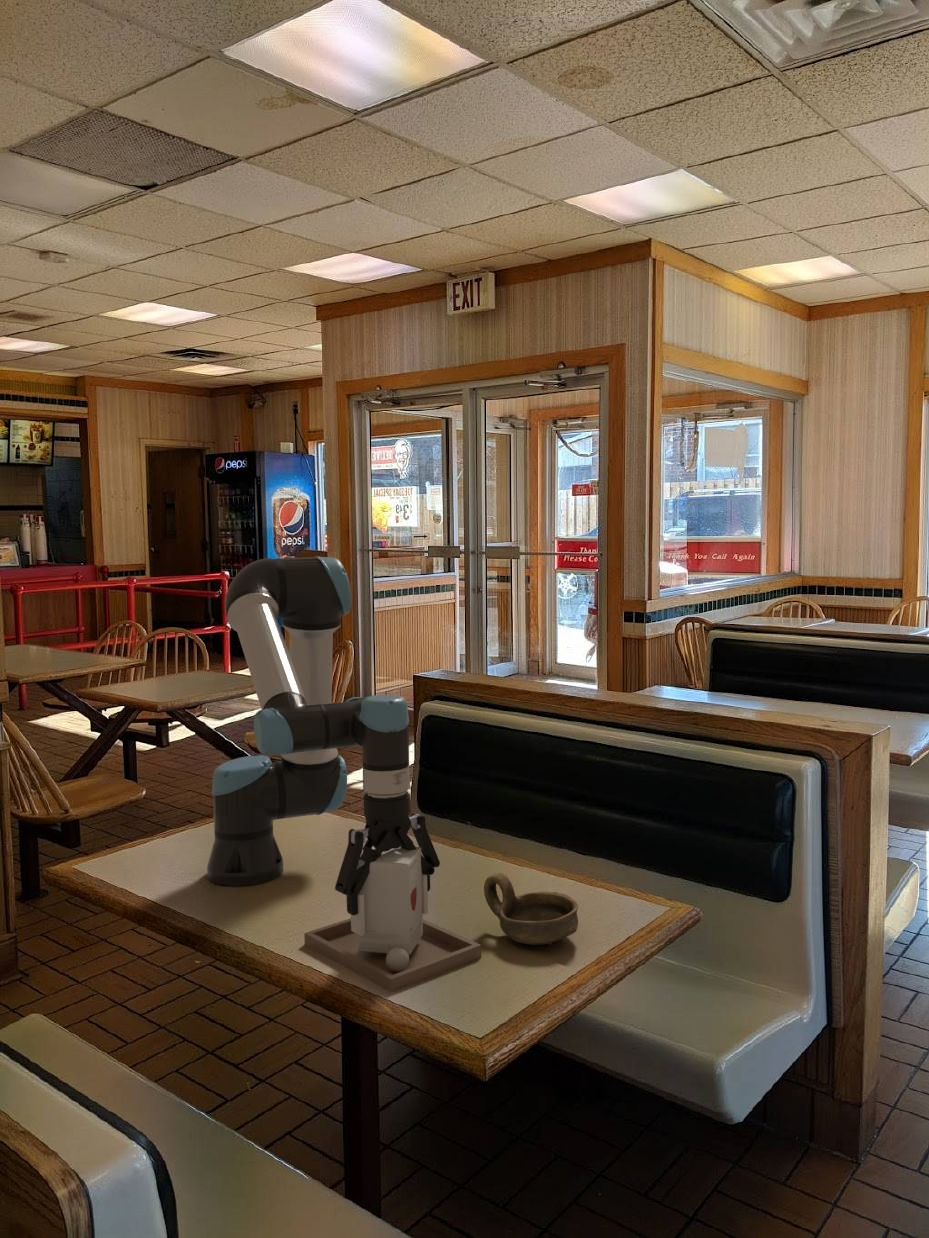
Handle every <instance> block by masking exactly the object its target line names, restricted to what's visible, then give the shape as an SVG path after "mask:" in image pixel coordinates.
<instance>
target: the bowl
mask: <svg viewBox="0 0 929 1238" xmlns="http://www.w3.org/2000/svg"><path fill="white" fill-rule="evenodd" d="M497 885H498V886H499V888H500V891H501V894H502V900H500V897H499V895H498V892H497ZM483 894H484V898H485V900H486V903H487V905H488V907H489V909H490V910H491V911H492V913H493V914H494V915H495V916H496V917H497V918H498V920H499V926H500V930H502V932H504V934H505V935H506V936H507V937H508V938H510V939H511V940H513V941H514V942H516V943H521V944H524V945H525V944H526V945H533V946H534V945H536V946H537V945H538V946H541V945H542V946H543V945H550V946H551V945H552V944H553V943H555V942H557V941H559V940H562V939H565V938H567V937H569V936H572V935H573V934H575V933H576V932H577V930H578V925H579V917H578V909H579V904H578V902H577V901H576V900H575V899H573V898H572V897H571V896H569V895H568V894H565V893H560V892H556V891H537V892H530V893H529V892H528V893H527V892H526V893H524V894H521V895H517V896H516V893H515V890H514V886H513V884H512V882H511V880H510V878H509V876H507V875H506V874H504V873H502V872H495V873H493V874H492V875H489V876H488V877H487V878H486V879H485V881H484V885H483Z"/></svg>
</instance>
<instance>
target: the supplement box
mask: <svg viewBox="0 0 929 1238" xmlns="http://www.w3.org/2000/svg"><path fill="white" fill-rule="evenodd" d="M415 847H416V848H417V849H416V850H411V851H409V850H406V849H403V848H401V847H400V848H397V849H393V848H392V849H390V850H389V851H386V852H382V854H381V856H380V857H378V858H377V859H376V861H373V862H371V863H370V873H369V875H368V877H367V879H366V881H365V883H364V885H363V887H362V889H361V891H360V893H362V894H364V917H365V935H362V936H361V935H359V934H357V940H358V951H363V952H377V953H388V952H389V951H390V950H392V949H393V948H402V949H404V950H405V951H406V952H407V953H408V955H410V954H411V952H412V951H413V949H414V947H415V946H416V944H417V943H418V941H419V939H420V938H421V936H422V934H423V919H424V918H423V915H424V914H423V913H422V869H421V855H422V853H421V847H419V846H418V847H417V846H415ZM372 849H375V848H374V847H372ZM364 863H365V861H363V860H359V863H358V866H357V869H358V868H360V867H361V866H363V865H364Z"/></svg>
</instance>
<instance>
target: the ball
mask: <svg viewBox="0 0 929 1238" xmlns="http://www.w3.org/2000/svg"><path fill="white" fill-rule="evenodd" d="M386 964H387V966H388V968H389V969H390V970H392V971H394V972H401V971H403V970H404V969H406V967H407V966H408V964H409V956H408V953H407V952H406V951H405V950H404V949H402V948H393V949H392V950H390V951H389V952H388V954H387V956H386Z"/></svg>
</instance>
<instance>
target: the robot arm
mask: <svg viewBox="0 0 929 1238" xmlns="http://www.w3.org/2000/svg"><path fill="white" fill-rule="evenodd" d="M224 598H225V599H224V612H225V615H226V618H227V623H228V624H229V626H230V627H231V629H232V630H234V631H235V632H237V635H238V636H237V637H238V639H239V642H240V645H241V648H242V651H243V654H244V659H245V661H246V664H247V667H248V670H249V674H250V677H251V680H252V683H253V686H254V690H255V693H256V697H257V701H258V703H259V706H260V710H258V711H257V712H256V713H255V715H254V718H253V732H254V733H253V734H254V739H255V745H256V748H257V750H258V751H259V753H261V754H262V755H261V754H259V755H248V756H242V757H236V758H233V759H230V760H228V761H225V762H223V763H222V764H220V765H219V766H217V767H216V768H215V769H214V771H213V774H212V787H211V788H212V789H211V794H212V801H213V802H212V805H213V825H214V829H213V830H214V841H213V845H212V848H211V852H210V855H209V859H208V863H207V867H206V868H207V872H206V873H207V874H206V875H207V880H209V881H210V882H211V883H213V884H216V885H221V886H226V887H228V886H229V887H241V886H244V887H245V886H253V885H259V884H263V883H267V882H269V881H272V880H275V879H276V878H278V877H280V876H281V875H282V874H283V873H284V860H283V856H282V853H281V851H280V848H279V846H278V842H277V840H276V837H275V834H274V824H273V823H274V821H276V820H282V819H283V820H285V819H291V818H298V817H305V816H307V817H308V816H314V815H315V816H316V815H317V816H320V815H323V814H326V813H330V812H334V811H337V810H338V809H339V808H340V807H341V806H342V804H343V803H344V800H345V797H346V794H347V789H348V775H347V765H346V764H347V763H346V762H345V759H344V758H343V757H342V756H341V755H339V752H338V749H343V748H351V747H361V753H362V791H363V792H365V794H364V795H363V815H364V818H365V826H364V828H361V829H354V828H350V829H349V831H348V839H347V840H348V843H347V846H346V851H345V853H344V856H343V860H342V863H341V866H340V870H339V872H338V876H337V879H336V883H335V885H334V890H335V891H337V892H339V893H340V894H343V895H346V911H347V913H348V914H349V915H350V918H351V931H353V932H355V933H357V934H359V935H361V936H362V935H365V917H364V894H362V893H360V891H361V889H362V887H363V885H364V883H365V881H366V879H367V877H368V875H369V873H370V863H371V862H373V861H376V859H377V858H378V857H380V856H381V854H382V852H386V851H389V850H390V849H392V848H393V849H397V848H400V847H401V848H403V849H406V850H409V851H411V850H416V849H417V848H416V847H417V846H415V845H414V842H413V840H412V839H411V838H410V836H409V835H408V833H409V831H410V828H411V830H412V834H413V836H414V838H415V840H416V842H417V845H418V847H421V869H422V914H423V915H426V914H428V913H429V905H428V903H429V899H428V898H429V897H428V893H429V892H430V891H431V876H433V874H434V873H435V868H438V867H440V865H441V864H440V863H441V862H440V859H439V856H438V854H437V851H436V849H435V847H434V844H433V842H432V840H431V837H430V834H429V832H428V830H427V825H426V824H427V823H426V822H427V821H426V817H425V816H424V815H421V814H418V813H415V812H413V813H412V814H411V811H412V810H411V807H412V806H411V793H410V792H409V789H411V787H410V786H411V783H410V782H411V781H410V780H411V779H410V778H411V777H410V776H411V775H410V738H409V737H410V734H409V733H410V732H409V730H410V729H409V727H410V726H409V725H410V716H409V709H408V702H407V700H406V698H404V696H401V695H394V694H377V695H371V696H366V697H360V696H357V697H356V696H355V697H351V698H348V699H347V700H345V701H342V702H341V701H340V702H332V695H333V693H332V691H333V690H332V689H333V688H332V687H333V649H334V648H333V646H334V645H333V644H334V643H333V642H334V639H333V637H334V635H333V634H334V633H335V632H336V631H337V630H338V629H339V628H340V627H341V624H342V622H341V621H342V620H341V619H342V616H346V615H348V614H349V613H350V611H351V608H352V603H353V602H352V590H351V584H350V580H349V577H348V574H347V571H346V569H345V567H344V565H343V563H342V562H341V561H340V560H339V559H338V558H335V557H332V556H330V557H327V556H317V555H316V556H301V557H299V556H298V557H297V556H296V557H283V558H282V557H281V558H272V557H271V558H262V559H258V560H255V561H252V562H251V563H249V564H247V565H246V566H244V567H243V568H242V569H240V570H239V571H238V573H236V575H235V576H234V578H233V579H232V580H231V582H230V584H229V586H228V588H227V592H226V594H225V597H224ZM278 619H281V626H282V627H283V628H284V629H285V630H286V631H287V632H288V633H289V645H288V646H289V649H288V647H287V644H286V641H285V638H284V634H283V632H282V629H281V627H280V624H279V622H278V621H279V620H278ZM267 755H268V756H267ZM269 755H270V756H272V755H275V756H276V755H280V761H273V762H272V760H271V758H270V757H269ZM366 838H367V840H366ZM372 847H374V848H375V849H372ZM359 860H363V861H365V863H364V865H363V866H361V867H360V868H358V869H357V866H358V863H359Z"/></svg>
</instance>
